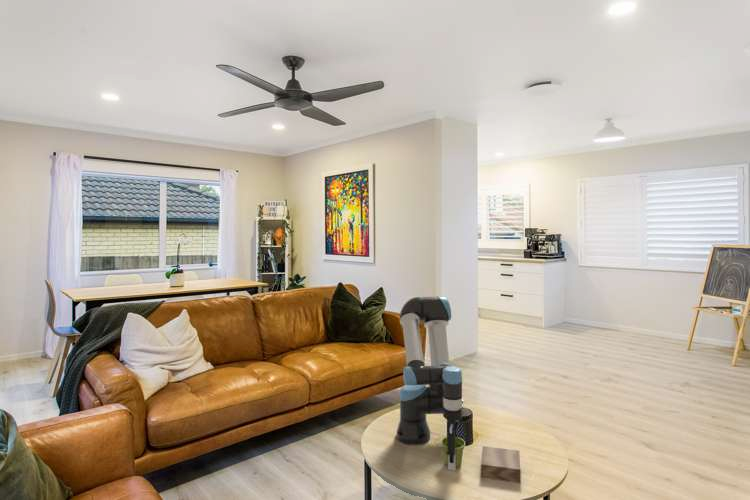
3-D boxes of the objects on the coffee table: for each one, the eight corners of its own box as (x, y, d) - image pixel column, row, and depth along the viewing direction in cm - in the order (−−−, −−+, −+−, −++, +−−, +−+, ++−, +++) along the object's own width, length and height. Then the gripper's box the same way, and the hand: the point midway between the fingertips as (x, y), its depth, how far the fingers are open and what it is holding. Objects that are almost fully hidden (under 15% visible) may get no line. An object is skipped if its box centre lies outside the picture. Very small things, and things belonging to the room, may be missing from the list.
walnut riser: (480, 477, 158) (480, 464, 158) (482, 458, 172) (482, 446, 172) (520, 483, 154) (520, 469, 154) (519, 463, 168) (519, 450, 167)
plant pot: (465, 471, 163) (465, 448, 163) (440, 468, 165) (440, 447, 164) (465, 458, 172) (465, 437, 172) (442, 456, 174) (441, 435, 174)
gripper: (459, 420, 156) (460, 479, 157) (464, 397, 177) (465, 450, 178) (439, 417, 158) (439, 476, 159) (446, 396, 179) (447, 448, 180)
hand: (453, 463), depth 168 cm, fingers open, 9 cm apart
